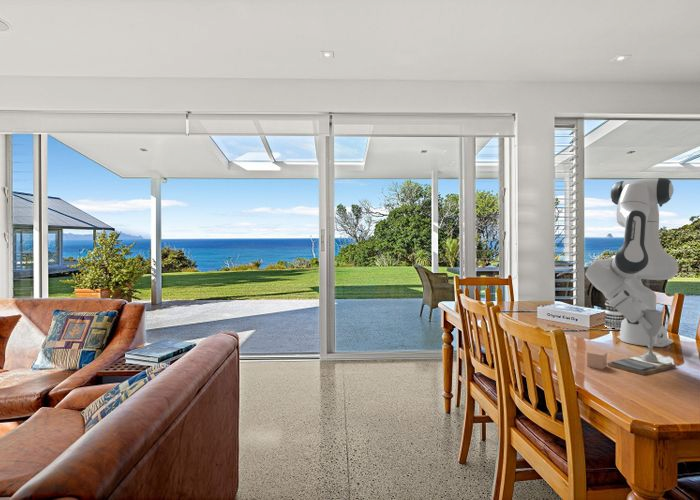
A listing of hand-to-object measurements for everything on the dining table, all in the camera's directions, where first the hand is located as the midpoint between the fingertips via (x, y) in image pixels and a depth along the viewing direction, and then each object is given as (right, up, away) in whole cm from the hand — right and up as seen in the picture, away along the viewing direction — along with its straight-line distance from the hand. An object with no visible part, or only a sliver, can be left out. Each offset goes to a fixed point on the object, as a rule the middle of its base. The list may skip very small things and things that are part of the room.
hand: (652, 326), depth 153 cm
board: (-5, -14, -1) cm, 15 cm away
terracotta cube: (-21, -14, -2) cm, 25 cm away
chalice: (-1, -13, 0) cm, 13 cm away
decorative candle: (+26, -13, +65) cm, 71 cm away
